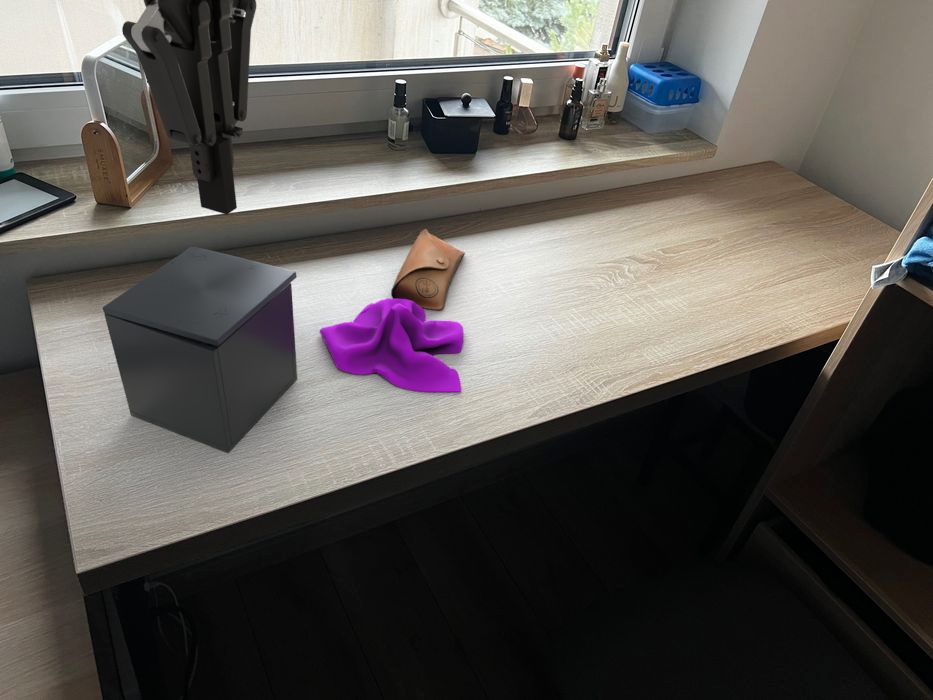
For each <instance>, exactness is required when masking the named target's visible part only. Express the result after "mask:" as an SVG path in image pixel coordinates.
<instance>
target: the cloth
mask: <svg viewBox="0 0 933 700" xmlns="http://www.w3.org/2000/svg"><path fill="white" fill-rule="evenodd" d="M426 316H427V315H426V311H425V309H423V308H421V307H420V306H419V305H417V304H416V303H415V302H413V301H411V300H407V299H393V298H384V299H380V300H378V301H376V302H372V303H369V304H367V305H366V306H365V307H364V308H363V309H362V310H361V311H360V312H359V313H358V314H357V315H356V317H355V318H354V319H353V321H344V322H340V323H337V324H336V323H335V324H333V325H330V326H326V327H322V328H320V329H319V333H320V335H321V337H322V338H323V340H324V342H325V345H326V347H327V349H328V351H329V352H330V355H331V357H332V360H333V362H334V364H335V366H336V368H337V369H338V370H339V371H342V372H345V373H348V374H351V375H357V376H365V375H366V376H367V375H372V374H379V375H380V376H381V377H383V378H384V379H385V380H387V381H388V382H389V383H391V384H392V385H393V386H395V387H397V388H400V389H404V390H408V391H413V392H414V391H415V392H419V393H420V392H421V393H422V392H423V393H461V391H462V385H461V379H460V376H459V373H458V370H456V369H455V368H451V367H450V366H449V365H448V364H446V363H445V362H444V361H442V360H441V359H440V358H438V357H436V356H435V355H450V354H451V355H454V354H459V353H461V351H462V349H463V346H464V326H463V325H462V324H461V323H460V322H458V321H454V320H435V319H429V320H426V318H427V317H426Z"/></svg>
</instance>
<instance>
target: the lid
mask: <svg viewBox="0 0 933 700" xmlns="http://www.w3.org/2000/svg"><path fill="white" fill-rule="evenodd" d="M297 277H298V276H297V272H296V271H294V270H291V269H287V268H283V267H279V266H274V265H270V264H266V263H262V262H258V261H254V260H251V259H246V258H242V257H238V256H234V255H230V254H226V253H222V252H218V251H214V250H209V249H206V248H201V247H198V246H194V245H192V246H190V247H189V248H187V249H186V250H185V251H183V252H182V253H180V254H178V256H176V257H174V258H173V259H171V260H170V261H169V262H167V263H165V264H164V265H162V266H161V267H160V268H157V270H155V271H154V272H152V273H150V274H149V275H148V276H146V277H145V278H143V279H142V280H140V281H139V282H137V283H136V284H135V285H132V287H130V288H129V289H127V290H126V291H124V292H123V293H121V294H120V295H118V296H117V297H116V298H114V299H112V300H110V302H108V303H107V304H105V305H104V306H102V310H103V314H108V315H112V316H115V317H119V318H122V319H126V320H129V321H132V322H136V323H139V324H143V325H146V326H150V327H153V328H157V329H160V330H164V331H167V332H171V333H174V334H177V335H181V336H184V337H188V338H191V339H195V340H198V341H202V342H205V343H209V344H212V345H216V346H219V345H220V344H221V343H222V342H223V341H225V340H226V339H227V338H228V337H229V336H230V335H231V334H233V333H234V332H235V331H236V330H237V329H238V328H239V327H240V326H242V325H243V324H244V323H245V322H246V321H247V320H248V319H250V318H251V317H252V316H253V315H254V314H255V313H256V312H258V311H259V310H260V309H261V308H262V307H263V306H264V305H266V304H267V303H268V302H269V301H270V300H271V299H272V298H274V297H275V296H276V295H277V294H278V293H279V292H280V291H282V290H283V289H284V288H285V287H286V286H287V285H288V284H290V283H291V284H292V282H293V281H295V280H296V279H297Z"/></svg>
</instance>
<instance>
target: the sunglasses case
mask: <svg viewBox="0 0 933 700" xmlns="http://www.w3.org/2000/svg"><path fill="white" fill-rule="evenodd" d="M465 254H466V252H465V251H463V250H460V249H458V248H456V247H454V246H452V245H450V244H449V243H447V242H445V241H443V240H442V239H440V238H439V237H437V236H435V235H433V234H431V233H430V232H429V231H428V229H426V228H425V229H422V230H421V231H420V232H419V233H418V235H417V238H416V239H415V241H414V243H413V244H412V246H411V248H410V250H409V252H408V254H407V256H406V258H405V260H404V262H403V264H402V266H401V267H400V269H399V271H398V274H397V276H396V279H395V281H394V283H393V286H392V288H391V292H390V295H391V296H390V297H391V299H407V300H411V301H413V302H415V303H416V304H417V305H419V306H420V307H421V308H423V310H433V311H439V310H443V309H444V307H445V303H446V300H447V299H446V298H447V294H448V291H449V288H450V285H451V282H452V280H453V277H454V275H455V272H456V271H457V268H458V265H460V263H461V261H462V259H463V257H464V256H465Z"/></svg>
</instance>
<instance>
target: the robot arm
mask: <svg viewBox="0 0 933 700" xmlns="http://www.w3.org/2000/svg"><path fill="white" fill-rule="evenodd" d="M143 3H144V6H145V9H144V11H143V12H142V14H141V16H140V17H139V18H138V20H137V21H136V22H135V21H130V20H127V21H125V22H124V23H123V25H122V29H121V31H122V35H123V37H124V38H125V40H126V41H127V42H128V44H129V45H130V46H131V48H132V49H133V50H134V52H135V53H136V54H137V57H138V60H139V63H140V65H141V68H142V70H143V75H144V76H145V79H146V82H147V84H148V87H149V90H150V93H151V95H152V98H153V102H154V104H155V106H156V107H155V108H156V109H157V112H158V114H159V118H160V120H161V123H162V126H163V128H164V131H165V134H166V136H167V138H168V139H169V140H173V141H177V142H181V143H184V144H187V145H188V147H189V154H190V162H191V169H192V174H193V176H194V178H195V179H196V180H197V187H198V194H199V201H200V207H201V208H203V209H207V210H210V211H213V212H217V213H220V214H223V215H226V216H228V215H229V214H230V213H231V212H233V211H234V210H237V208H238V206H237V197H236V188H235V178H234V169H233V168H234V165H235V159H234V158H235V157H234V149H233V139H232V137H233V138H236V139H238V138H240V137H241V136H242V134H243V131H244V129H243V127H240V126H236V124H237V123H238V122H244V121H245V120H246V118H247V115H248V100H249V99H248V97H249V79H250V78H249V77H250V59H251V57H250V55H251V39H252V38H251V36H252V26H253V22H254V19H255V15H256V11H257V7H258V5H257V1H256V0H143Z"/></svg>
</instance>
